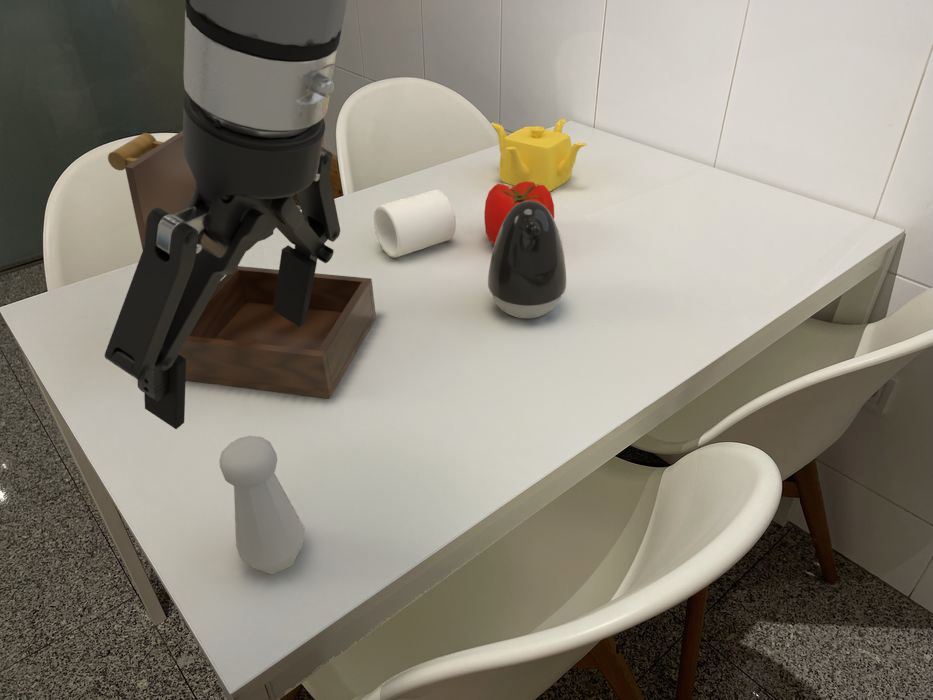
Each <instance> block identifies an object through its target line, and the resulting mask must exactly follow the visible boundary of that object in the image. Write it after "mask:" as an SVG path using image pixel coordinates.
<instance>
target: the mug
mask: <svg viewBox="0 0 933 700" xmlns="http://www.w3.org/2000/svg"><path fill="white" fill-rule="evenodd" d="M373 226H374V230H375V234H376V237H377V240H378V242H379V244H380V246H381V248H382V250H383V251H384V252H385V253H386V254H387V255H388V256H389V257H391V258H394V259H395V258H399V257H402V256H405V255H408V254H411V253H414V252H417V251H420V250H423V249H426V248H429V247H432V246H435V245H438V244H442V243H444V242H447V241H450V240H452V239H453V237H454V236H455V233H456V229H457V220H456V215H455V211H454V208H453V206H452V203H451V201H450V200H449V198H448V197H447V195H446V194H445V193H444V192H443V191H441V190H440V189H432V190H428V191H425V192H422V193H418V194H414V195H411V196H407V197H404V198H401V199H397V200H391V201H389V202H386V203H383V204H380V205H378V206H376V208H375V210H374V212H373Z"/></svg>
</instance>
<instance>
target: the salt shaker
mask: <svg viewBox="0 0 933 700" xmlns="http://www.w3.org/2000/svg"><path fill="white" fill-rule="evenodd" d="M277 464H278V455H277V452H276V450H275V449H274V446H273V445H272V443H271V442H270V440H268V439H266V438H264V437H263V436H257V435H256V436H255V435H247V436H242V437H239V438H237V439H235V440H233V441H231V442H230V443H229V444H228V445H227V446H226V447H225V448H224V449H223V450H222V451H221V453H220V456H219V468H220V471H221V473H222V476H223V478H224V481H226V482H227V483H228V484H230V485H231V486H233V498H234V499H233V500H234V501H233V502H234V530H235V547H236V551H237V553H238V556H239V558H240V559H241V561H243V562H244V563H246V564H247V565H248V566H249V567H252V568H253V569H254V570H257V571H260V572H263V573H266V574H268V575H271V576H273V575H275V574H278V573H279V572H282V571H284V570H286V569H288V568H291V567H293V566H294V563H295V561H296V558H297V556H298V554H299V553H300V551H301V549H302V547H303V545H304V540H305V534H306V529H305V526H304V524H303V523H302V520H301V519H300V517H299V515H298V514H297V512H296V510H295V508H294V506H293V504H292V501H290V499H289V497H288V495H287V494H286V491H285V490H284V488H283V486H282V484H281V483H280V481H279V479H278V477H277V475H276V473H275V472H276V468H277Z"/></svg>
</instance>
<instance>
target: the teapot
mask: <svg viewBox="0 0 933 700" xmlns="http://www.w3.org/2000/svg"><path fill="white" fill-rule="evenodd" d="M566 121H567V120H566V118H562V119H560V120H558V121H557V122H556V124H555V125H554V128H553V130H550V129H546V128H545V127H544V126H538V125H535V126H534V125H533V126H530V125H529V126H524V127H522V128H520V129H518V130H516V131H514V132H512V133H510V134H509V135H508V134H507V132H506V130H505V128H504V127H503V126H502V125H501V124H499V123H497V122H491V123H490V125H491V126H492V127H493V128H494V130H495V131H496V133H497V136H498V144H499V145H498V147H499V153H500V156H499V157H500V158H499V177H500V181H501V182H502V183H505V184H508V185H511V186H512V187H514V186H515V185H517V184H518V183H521V182H525V181H528V182H534V183H535V185H536V184H538V185H544V186H545V187H546V188H547V189H548V191H549V192H550V193H551V192H552V191H554V190H555V189H557V188H558V187H560V186H561V185H563V184H565V183H566V182H568V181H569V180H570V178H571V176H572V172H573V168H574V166H575V163H576V159H577V155H578V152H579V150H580V149H581V148H582V147H583V148H584V147H586V146H587V145H588V144H587V143H585V142H576V143H574V144H572V140H571V136H570V135H569V134H568V133H567V134H566V133H563V127H564V125H565V123H566ZM536 186H537V185H536Z"/></svg>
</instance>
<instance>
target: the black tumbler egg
mask: <svg viewBox="0 0 933 700" xmlns="http://www.w3.org/2000/svg"><path fill="white" fill-rule="evenodd" d="M560 235H561V234H560V232H559V229H558V226H557V224H556V221H555V218H554V219H553V217H552V215H551V214H550V212H549V210H548V209H547V208H546V207H545V206H544V205H543V204H541V203H539V202H536V201H523V202H520V203H518V204H516V205H515V206H514V207H513V208H512V209H511V210H510V211H509V213H508V214H507V216H506V217H505V219H504V221H503V223H502V225H501V228H500V230H499V233H498V236H497V239H496V242H495V245H494V244H493V249H492V253H491V257H490V262H489V268H488V275H487V286H488V290H489V291H490V293H491V296H492V298H493V300H494V302H495V304H496V305H497V307H498V308H499V309H500V310H502V311H503V312H504V313H506V314H508V315H509V316H512V317H515V318H517V319H518V318H519V319H535V318H539V317H542V316H545V315H547V314H548V313H550V312H551V311H552V310H554V309H555V307H556V306H557V305H558V304H559V302H560V300H561V298H562V295H563V294H564V293H565V291H566V288H567V268H566V260H565V259H566V258H565V253H564V248H563V244H562V240H561V236H560Z"/></svg>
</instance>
